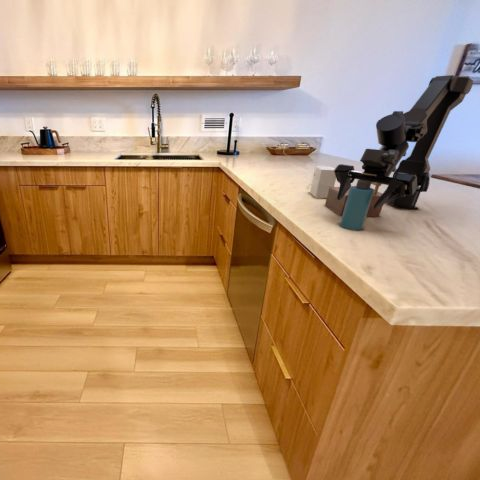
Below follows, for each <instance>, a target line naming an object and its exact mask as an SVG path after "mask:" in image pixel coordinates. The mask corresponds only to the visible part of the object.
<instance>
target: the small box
mask: <svg viewBox="0 0 480 480" xmlns="http://www.w3.org/2000/svg"><path fill="white" fill-rule="evenodd" d="M313 170H314V171H313V174H312V180H311V183H310V188H309V193H310V194H311V196H313V197H314V198H315V199H327V195H328V191H329V187H335V185H336V181H337V179H336V175H335V172H334V170H335V167H332V166H328V165H326V166H325V165H324V166H322V165H315V166H314V169H313Z"/></svg>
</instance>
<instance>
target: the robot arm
mask: <svg viewBox="0 0 480 480" xmlns="http://www.w3.org/2000/svg"><path fill="white" fill-rule="evenodd" d="M473 85H474V80H473V79H472V78H470V76H469V75H465V76H464V75H463V76H462V75H461V76H457V75H454V74H449V75H448V74H447V75H436V76H435V77H434V76H433V77H431V79H430V80H429V82H428V86H427V87H426V88H425V90H424V91H423V92H422V94H421V95H420V97H419V98H417V101H415V103H414V104H413V105H412V107H411V108H410V109H409V110H408V111H406V112H404V111H403V110H394V111H393V112H392V113H391V114H388V115H385V116H383V117H382V118H380V119H378V120H377V121H376V124H375V128H376V129H375V130H376V136H377V142H378V144H379V145H380V148H379V149H376V148H375V149H374V148H365V149H364V151H363V154H362V156H361V158H360V160H359V161H360V162H361V163H362V165H361V169H362V170H363V171H359V170H358V171H357V170H355V166H354V165H350V164H344V163H339V164H338V165H336V167H334V169H335V170H334V172H335V175H336V182H338V183H339V187H340V188H339V192H338V197H337V199H338V200H340V199H341V198H342V197H343V196H344V195H345V193H346V192H347V191H348V190H349V188H350V187H351V186H352V184H353V183H354V182H355V181H356V180H369V181H371V182H373V183H379V184H382V185H385V186H387V187H386V188H385V190H384V191H383V193H382V195H381V197H380V198H379V199H378V200H377V202H376V203H375V205H374V209H377V208H378V207H380V206H382V205H383V206H384V205H385V204H387V205H389V206H392V207H394V208H396V209H398V210H399V209H400V210H419V207H418V206H416V205H417V202H418V200H419V197H420V194H421V193H427V192H428V189H429V186H430V181H431V177H430V176H431V175H430V171H431V165H430V161H429V158H430V156H431V153H432V151H433V150H434V147H435V145H436V143H437V141H438V139H439V137H440V134H441V132H442V130H443V128H444V126H445V124H446V122H447V120H448V117H449V115H450V113H451V111H453V110H454V109H455V108H456V107H458V106H459V105H460V104H462V102H463V101H464V100H465V97H466V96H467V95H468V94H469V93H470V92H471V90H472V88H473ZM409 143H415V144H414V147H413V149H412V151H411V154H410V155H409V156H408V157H407V158H405V159H402V158H403V157H406V155H407V151H408V150H409V147H410V146H409ZM397 165H398V166H397ZM392 173H393V174H392ZM391 174H392V176H390V175H391Z"/></svg>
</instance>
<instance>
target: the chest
mask: <svg viewBox="0 0 480 480" xmlns="http://www.w3.org/2000/svg"><path fill="white" fill-rule="evenodd" d="M337 197H338V193H336V192H334V191H332V190H331V189H329V191H328V195H327V198H325V203H324V207H327V208H328V209H329V210H330V211H332V212H334V213H336V214H337V215H339V216H340V217H342V215H343V212H344V208H345V205H346V201H347V198H346V197H344V196H343V197H342V198H341V199H340V200H338V199H337ZM378 199H379V198H372V199H371V203H370V206H369V209H368V212H367V215H366V217H375V218H376V217H378V218H379V217H380V215H381V212H382V209H383V207H384V205H382V206H380V207H378V208H377V209H374V205H375V203H376V202H377V200H378Z"/></svg>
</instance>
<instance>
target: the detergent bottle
mask: <svg viewBox="0 0 480 480" xmlns="http://www.w3.org/2000/svg"><path fill="white" fill-rule="evenodd" d="M370 185H371V186H372V184H371V181H369V180H359V179H357V181H356V185H351V187H350V191H349V194H348V198H347V201H346V205H345V208H344V212H343V215H342V216H341V219H340V223H339V226H340V227H341V228H343V229H347V230H350V231H361V230H363V228H364V224H365V221H366V219H367V216H366V215H367V212H368V209H369V206H370V203H371V199H372V196H373V193H374V190H375V188H373V187H371V186H370Z"/></svg>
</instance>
